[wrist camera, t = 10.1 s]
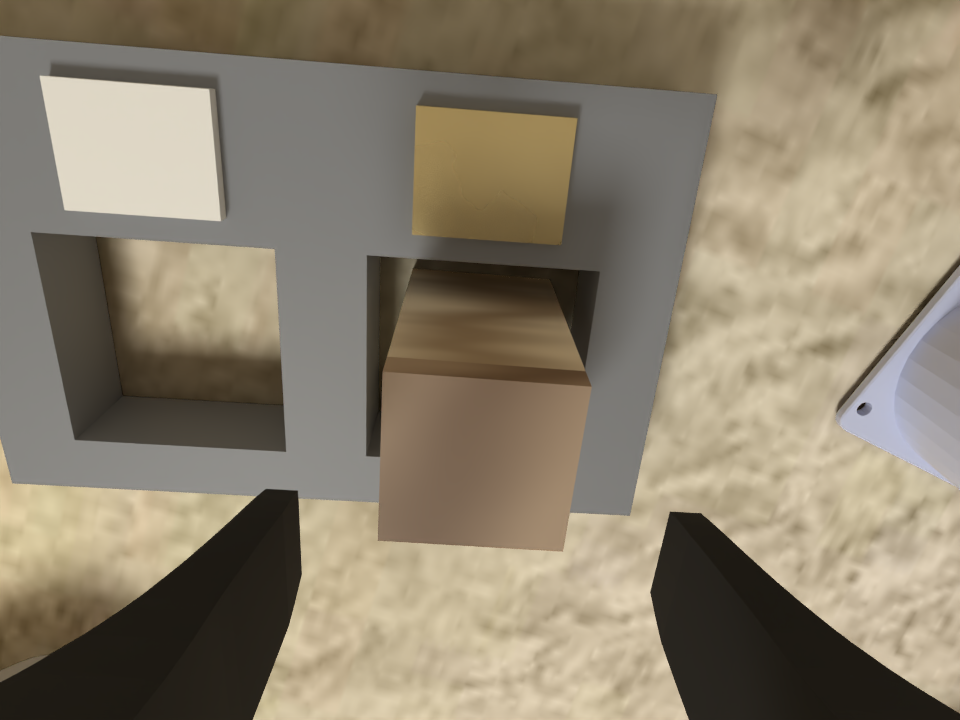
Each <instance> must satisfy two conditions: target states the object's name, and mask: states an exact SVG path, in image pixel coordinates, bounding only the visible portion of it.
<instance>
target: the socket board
mask: <svg viewBox="0 0 960 720" xmlns="http://www.w3.org/2000/svg"><path fill="white" fill-rule="evenodd" d="M716 98H717V94H705V93H693V92H681V91H668V90H656V89H644V88H632V87H619V86H607V85H595V84H583V83H571V82H558V81H546V80H534V79H522V78H510V77H497V76H485V75H473V74H461V73H448V72H436V71H424V70H412V69H400V68H387V67H375V66H363V65H351V64H339V63H326V62H314V61H302V60H290V59H278V58H265V57H253V56H241V55H229V54H216V53H204V52H192V51H180V50H168V49H155V48H143V47H131V46H119V45H107V44H94V43H82V42H70V41H58V40H45V39H33V38H21V37H9V36H0V438H1V442H2V446H3V450H4V453H5V457H6V461H7V465H8V469H9V472H10V476H11V480H12V483H17V484H36V485H55V486H74V487H93V488H112V489H131V490H150V491H169V492H188V493H207V494H226V495H245V496H258V495H259V494H260V493H261V492H262V491H264V490H265V489H279V490H297V491H298V498H303V499H322V500H341V501H360V502H379V483H380V447H381V411H379V330H380V256H384V257H399V258H413V259H428V260H442V261H457V262H471V263H486V264H500V265H514V266H529V267H543V268H558V269H572V270H579V277H578V284H577V291H576V298H575V305H574V312H573V319H572V326H571V335H572V338H573V340H574V343H575V345H576V348H577V350H578V353H579V356H580V358H581V361H582V363H583V366H584V368H585V371H586V373H587V376H588V378H589V381H590V384H591V386H592V388H591V394H590V400H589V405H588V411H587V417H586V422H585V428H584V434H583V440H582V445H581V451H580V457H579V462H578V468H577V474H576V479H575V485H574V491H573V496H572V502H571V508H570V513H589V514H608V515H627V516H630V512H631V508H632V503H633V498H634V493H635V488H636V483H637V479H638V474H639V469H640V464H641V459H642V455H643V450H644V445H645V440H646V435H647V431H648V426H649V421H650V416H651V411H652V406H653V402H654V397H655V392H656V387H657V382H658V378H659V373H660V368H661V363H662V358H663V353H664V349H665V344H666V339H667V334H668V329H669V325H670V320H671V315H672V310H673V305H674V301H675V296H676V291H677V286H678V281H679V276H680V272H681V267H682V262H683V257H684V252H685V248H686V243H687V238H688V233H689V228H690V224H691V219H692V214H693V209H694V204H695V199H696V195H697V190H698V185H699V180H700V175H701V171H702V166H703V161H704V156H705V151H706V147H707V142H708V137H709V132H710V127H711V122H712V118H713V113H714V108H715V103H716ZM96 237H109V238H124V239H138V240H153V241H167V242H182V243H196V244H211V245H225V246H239V247H254V248H268V249H275V259H276V277H277V295H278V313H279V331H280V349H281V367H282V384H283V402H284V405H268V404H251V403H234V402H217V401H200V400H183V399H166V398H149V397H132V396H123V395H122V389H121V383H120V377H119V371H118V366H117V360H116V354H115V348H114V342H113V336H112V330H111V324H110V318H109V313H108V307H107V301H106V295H105V289H104V283H103V277H102V271H101V266H100V260H99V254H98V248H97V242H96Z"/></svg>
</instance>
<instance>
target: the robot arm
mask: <svg viewBox="0 0 960 720" xmlns="http://www.w3.org/2000/svg"><path fill="white" fill-rule="evenodd" d="M865 402H866V404H865V406H864V407H863V408H862V409H860V410H857V408H858V406H859V405H861V404H862V403H865ZM836 422H837V424H838V425H839V426H840V427H842V428H843V429H844V430H845V431H847V432H849V433H851V434H853V435H855V436H857V437H859V438H861V439H863V440H865V441H867V442H869V443H871V444H873V445H875V446H877V447H879V448H881V449H883V450H885V451H887V452H889V453H891V454H893V455H895V456H897V457H899V458H901V459H902V460H904V461H906V462H908V463H910V464H912V465H914V466H916V467H918V468H920V469H922V470H924V471H926V472H928V473H930V474H932V475H934V476H936V477H938V478H940V479H942V480H944V481H946V482H948V483H950V484H952V485H954V486H956V487H957V488H958V489H959V490H960V265H959V267H958V268H957V269H956V270H955V271H954V273H953V274H952V275H951V276H950V277H949V279H948V280H947V281H946V282H945V283H944V285H943V286H942V287H941V288H940V289H939V291H938V292H937V293H936V294H935V295H934V297H933V298H932V299H931V300H930V301H929V303H928V304H927V305H926V306H925V307H924V309H923V310H922V311H921V312H920V313H919V315H918V316H917V317H916V318H915V319H914V321H913V322H912V323H911V324H910V325H909V327H908V328H907V329H906V330H905V331H904V333H903V334H902V335H901V336H900V337H899V338H898V340H897V341H896V342H895V343H894V344H893V346H892V347H891V348H890V349H889V350H888V352H887V353H886V354H885V355H884V356H883V358H882V359H881V360H880V361H879V362H878V364H877V365H876V366H875V367H874V368H873V370H872V371H871V372H870V373H869V374H868V376H867V377H866V378H865V379H864V380H863V382H862V383H861V384H860V385H859V386H858V388H857V389H856V390H855V391H854V392H853V394H852V395H851V396H850V397H849V398H848V400H847V401H846V402H845V403H844V404H843V406H842V407H841V408H840V409H839V411H838V412H837V414H836ZM301 575H302V571H301V548H300V525H299V502H298V491H297V490H279V489H265V490H264V491H262V492H261V493H260V494H259V495H258V496H257V497H256V498H254V499H253V500H252V501H251V502H250V503H249V504H248V505H247V506H246V507H245V508H244V509H243V510H242V511H240V512H239V513H238V514H237V515H236V516H235V517H234V518H233V519H232V520H231V521H230V522H229V523H227V524H226V525H225V526H224V527H223V528H222V529H221V530H220V531H219V532H218V533H217V534H215V535H214V536H213V537H212V538H211V539H210V540H209V541H207V542H206V543H205V544H204V545H203V546H202V547H200V548H199V549H198V550H197V551H196V552H195V553H194V554H192V555H191V556H190V557H189V558H188V559H187V560H185V561H184V562H183V563H182V564H181V565H179V566H178V567H177V568H176V569H174V570H173V571H172V572H171V573H169V574H168V575H167V576H166V577H164V578H163V579H162V580H161V581H159V582H158V583H157V584H155V585H154V586H153V587H152V588H150V589H149V590H148V591H147V592H145V593H144V594H143V595H141V596H140V597H139V598H137V599H136V600H134V601H133V602H132V603H130V604H129V605H127V606H126V607H125V608H123V609H122V610H120V611H119V612H117V613H116V614H114V615H113V616H111V617H110V618H108V619H107V620H105V621H104V622H102V623H101V624H99V625H98V626H96V627H95V628H93V629H92V630H90V631H89V632H87V633H85V634H84V635H82V636H80V637H79V638H77V639H75V640H74V641H72V642H70V643H69V644H67V645H65V646H63V647H62V648H60V649H58V650H57V651H55V652H53V653H52V654H50V655H48V656H46V657H45V658H43V659H41V660H40V661H38V662H36V663H35V664H33V665H31V666H29V667H28V668H26V669H24V670H22V671H20V672H19V673H17V674H15V675H13V676H11V677H9V678H7V679H5V680H3V681H2V682H0V720H253V717H254V715H255V712H256V710H257V707H258V704H259V702H260V699H261V697H262V694H263V691H264V689H265V686H266V684H267V681H268V679H269V676H270V673H271V671H272V668H273V666H274V663H275V660H276V658H277V655H278V653H279V650H280V647H281V645H282V642H283V639H284V637H285V634H286V631H287V629H288V626H289V623H290V619H291V615H292V611H293V608H294V604H295V600H296V596H297V592H298V587H299V583H300V579H301ZM650 593H651V597H652V602H653V607H654V612H655V617H656V621H657V626H658V630H659V634H660V638H661V643H662V645H663V648H664V651H665V654H666V657H667V660H668V663H669V666H670V668H671V671H672V674H673V677H674V680H675V683H676V685H677V688H678V691H679V694H680V696H681V699H682V702H683V705H684V707H685V710H686V713H687V716H688V718H689V720H960V714H959V713H958V712H956V711H954V710H953V709H951V708H949V707H948V706H946V705H945V704H943V703H941V702H940V701H938V700H937V699H935V698H933V697H932V696H930V695H928V694H927V693H925V692H924V691H922V690H920V689H919V688H917V687H916V686H914V685H912V684H911V683H909V682H908V681H906V680H905V679H903V678H902V677H900V676H899V675H897V674H896V673H894V672H893V671H891V670H890V669H888V668H887V667H885V666H884V665H883V664H881V663H880V662H878V661H877V660H875V659H874V658H873V657H871V656H870V655H868V654H867V653H866V652H864V651H863V650H861V649H860V648H859V647H857V646H856V645H854V644H853V643H851V642H850V641H849V640H848V639H846V638H845V637H844V636H842V635H841V634H840V633H838V632H837V631H836V630H834V629H833V628H832V627H830V626H829V625H828V624H827V623H826V622H824V621H823V620H822V619H821V618H819V617H818V616H817V615H816V614H814V613H813V612H812V611H811V610H809V609H808V608H807V607H806V606H804V605H803V604H802V603H801V602H800V601H798V600H797V599H796V598H795V597H794V596H793V595H791V594H790V593H789V592H788V591H787V590H786V589H784V588H783V587H782V586H781V585H780V584H779V583H777V582H776V581H775V580H774V579H773V578H772V577H771V576H770V575H768V574H767V573H766V572H765V571H764V570H763V569H762V568H761V567H760V566H758V565H757V564H756V563H755V562H754V561H753V560H752V559H751V558H750V557H749V556H748V555H746V554H745V553H744V552H743V551H742V550H741V549H740V548H739V547H738V546H737V545H736V544H735V543H733V542H732V541H731V540H730V539H729V538H728V537H727V536H726V535H725V534H724V533H723V532H721V531H720V530H719V529H718V528H717V527H716V526H715V525H714V524H713V523H711V522H710V521H709V520H708V519H707V518H706V517H704V516H703V515H702V514H701V513H684V512H670V514H669V518H668V522H667V526H666V530H665V535H664V539H663V543H662V547H661V551H660V555H659V559H658V563H657V567H656V571H655V576H654V580H653V584H652V588H651V592H650Z"/></svg>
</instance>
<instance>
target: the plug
mask: <svg viewBox="0 0 960 720" xmlns="http://www.w3.org/2000/svg"><path fill="white" fill-rule="evenodd" d="M591 388H592V386H591V384H590V381H589V378H588V376H587V373H586V371H585V368H584V366H583V363H582V361H581V358H580V356H579V353H578V350H577V348H576V345H575V343H574V340H573V338H572V335H571V333H570V330H569V328H568V325H567V322H566V320H565V317H564V315H563V312H562V310H561V307H560V305H559V302H558V300H557V297H556V294H555V292H554V289H553V287H552V284H551V282H550V279H539V278H527V277H514V276H502V275H489V274H477V273H464V272H452V271H439V270H427V269H415V268H413V271H412V274H411V277H410V281H409V284H408V288H407V291H406V294H405V298H404V301H403V304H402V308H401V311H400V315H399V318H398V321H397V325H396V328H395V331H394V335H393V338H392V342H391V345H390V348H389V352H388V355H387V358H386V362H385V365H384V369H383V375H382V411H381V447H380V483H379V519H378V541H394V542H411V543H428V544H445V545H462V546H478V547H495V548H512V549H529V550H546V551H563V548H564V542H565V536H566V531H567V525H568V519H569V514H570V508H571V502H572V496H573V491H574V485H575V479H576V474H577V468H578V462H579V457H580V451H581V445H582V440H583V434H584V428H585V422H586V417H587V411H588V405H589V400H590V394H591Z"/></svg>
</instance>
